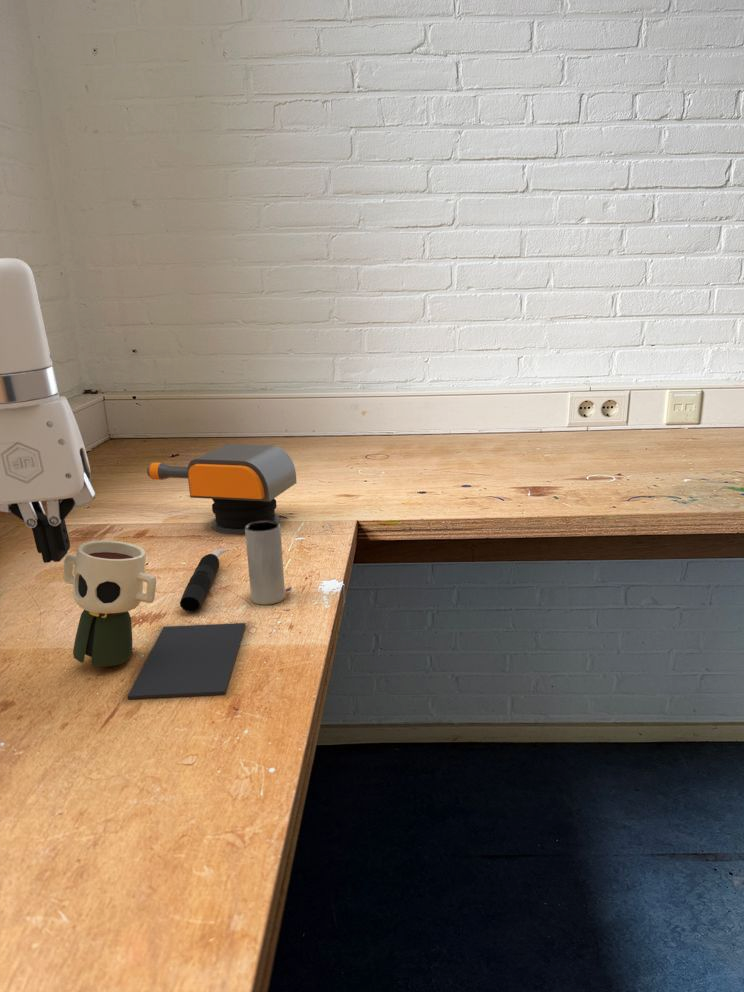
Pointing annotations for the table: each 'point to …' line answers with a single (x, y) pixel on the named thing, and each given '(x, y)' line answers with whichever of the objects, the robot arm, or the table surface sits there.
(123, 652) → the character mug
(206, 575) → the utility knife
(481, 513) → the table surface
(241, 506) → the toy turret
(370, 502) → the table surface
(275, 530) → the grey hollow cylinder
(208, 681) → the mat
